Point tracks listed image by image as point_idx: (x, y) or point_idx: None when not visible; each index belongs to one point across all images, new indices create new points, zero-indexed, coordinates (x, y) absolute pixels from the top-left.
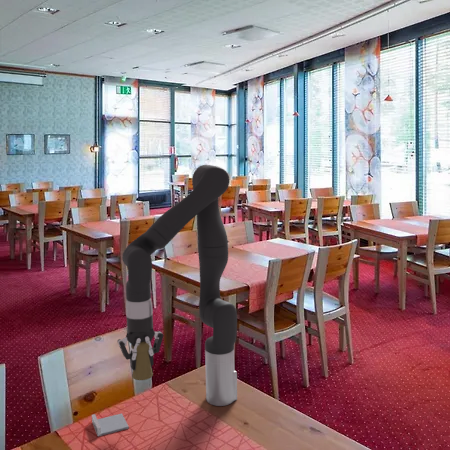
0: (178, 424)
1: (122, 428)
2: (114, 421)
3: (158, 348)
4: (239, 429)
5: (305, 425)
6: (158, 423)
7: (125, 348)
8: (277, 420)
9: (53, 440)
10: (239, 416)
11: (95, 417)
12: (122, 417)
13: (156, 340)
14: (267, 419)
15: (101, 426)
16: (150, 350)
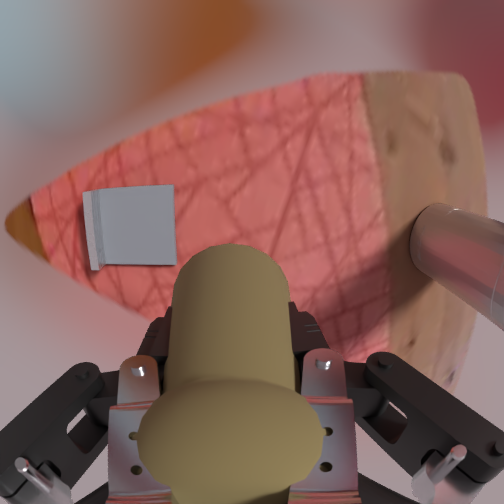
0: (304, 301)
1: (159, 264)
2: (143, 220)
3: (383, 423)
4: None
5: (453, 367)
6: None
7: (72, 480)
8: (444, 348)
9: (26, 231)
10: (419, 320)
11: (89, 211)
12: (169, 209)
13: (419, 448)
14: (439, 342)
15: (109, 230)
16: None
